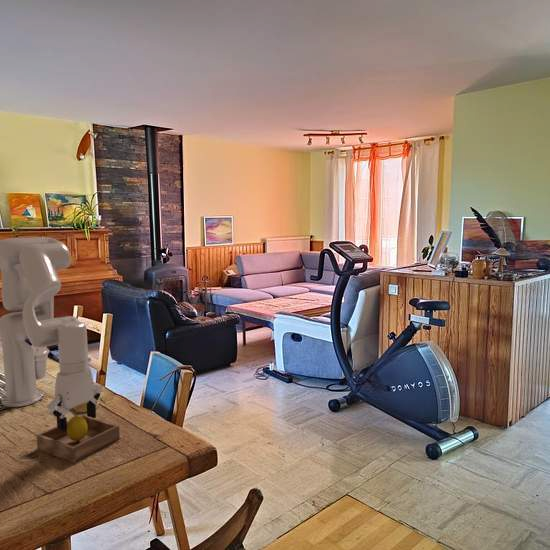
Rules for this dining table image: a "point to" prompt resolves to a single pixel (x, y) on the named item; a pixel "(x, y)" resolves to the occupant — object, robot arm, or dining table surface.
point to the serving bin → (74, 451)
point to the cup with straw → (40, 360)
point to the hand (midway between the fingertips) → (77, 423)
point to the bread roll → (84, 407)
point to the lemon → (77, 428)
